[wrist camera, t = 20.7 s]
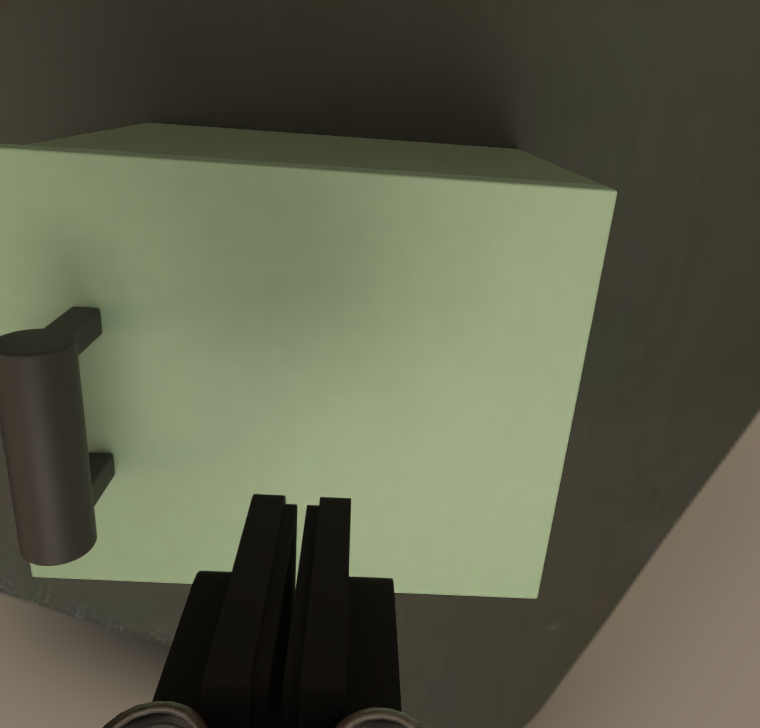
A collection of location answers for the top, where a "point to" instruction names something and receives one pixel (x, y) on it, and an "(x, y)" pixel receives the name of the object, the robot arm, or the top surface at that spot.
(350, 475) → the green box lid
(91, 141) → the green hinged lid box
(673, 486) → the top surface
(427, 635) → the top surface
